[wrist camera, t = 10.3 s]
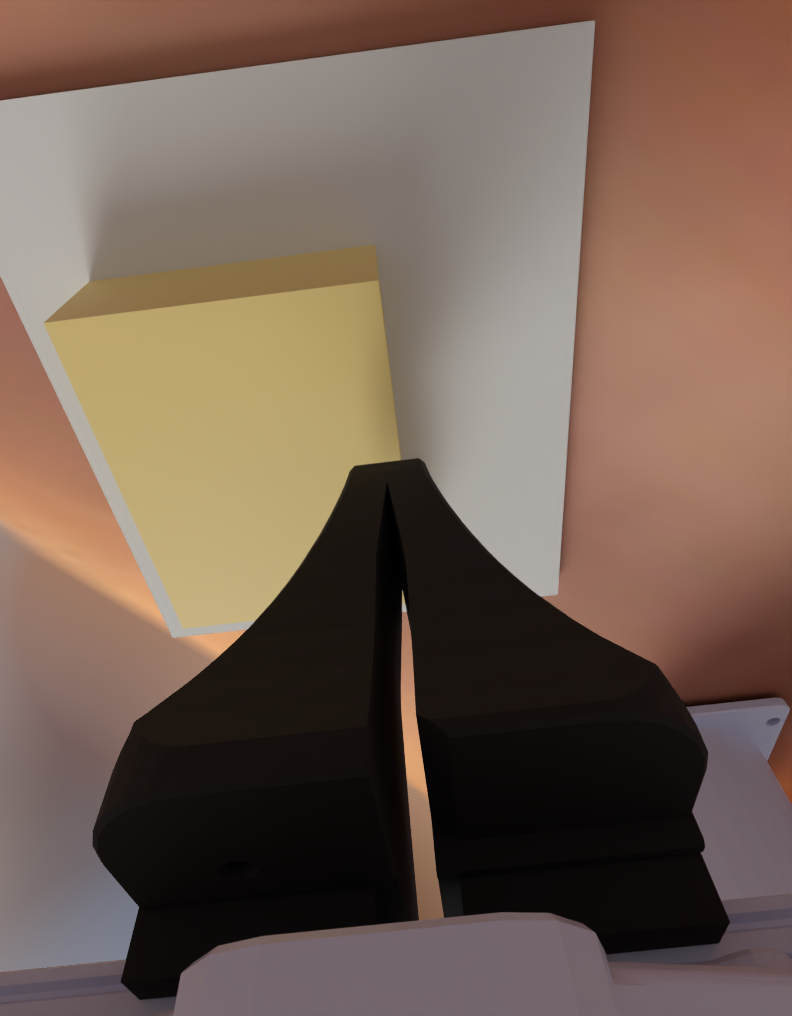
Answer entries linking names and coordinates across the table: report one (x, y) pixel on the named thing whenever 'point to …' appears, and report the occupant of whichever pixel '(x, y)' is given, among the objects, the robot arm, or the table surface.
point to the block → (233, 412)
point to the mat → (346, 238)
